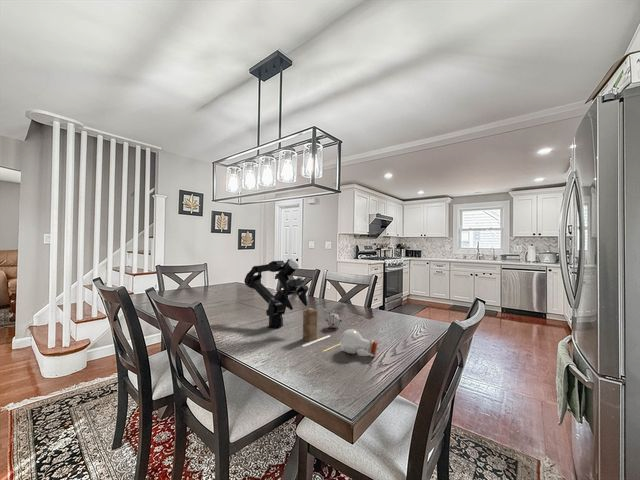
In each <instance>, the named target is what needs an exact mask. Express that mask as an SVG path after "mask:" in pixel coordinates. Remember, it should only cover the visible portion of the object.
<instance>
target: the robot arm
mask: <svg viewBox="0 0 640 480" xmlns="http://www.w3.org/2000/svg"><path fill="white" fill-rule="evenodd" d="M298 269H299V264H298V263H297V262H296V261H294V260H293V259H292V258H288V259H287V260H286V262H284V260H272V261H271V262H269V263H267V264H260V265H253V266H252V267H251V270H250V271H248V273H246V275H245V277H244V285H246V287H248V288H250V289H252V290H254V291H256V293H258V295H259V296H260V297H261V298H262V299H263V300H264V301H265V302H266V303H267V310H266V311H265V313H266V316H268V325H267V328H271V329H280V328H281V327H283V326H284V318H283V315H285V314H286V309H287V308H288V309H289V310H291V311H293V309H294V307H293V305H292V303H291V302H290V299H289V296H293V295H297V296H298V299H299V300H300V301H301V302H302V304H303V305H304V306H305V307H308V301H307V293H308V291H309V290H310V288H309V287H308V285H306V284H305V285H303V283H304V279H303V277H302V276H299V277H296V278H291V276H293V275H294V273H296V271H297V270H298ZM264 272H271V273H276V274H275V276H274V280H278V281H279V283H280V288H281V290H277V292H276V293H275V294H274V295H273V293H271V291H269V290H268V289H267V288H266V287H265V285H264V284H263V283H262V278H263V277H262V276H263V274H262V273H264ZM299 286H300V287H299Z"/></svg>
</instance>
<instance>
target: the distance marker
mask: <svg viewBox="0 0 640 480" xmlns="http://www.w3.org/2000/svg"><path fill="white" fill-rule="evenodd" d="M338 346H340V342H339V343H337V344H335V345H333V346H330V347H329V348H326V349H323V350H322V352H325V353H326V351H329V350H331V349H334V348H337V347H338Z"/></svg>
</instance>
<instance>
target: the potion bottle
mask: <svg viewBox="0 0 640 480" xmlns="http://www.w3.org/2000/svg"><path fill="white" fill-rule="evenodd" d="M378 341H379V340H376V341H375V340H374V338H373V337H371V338H370V339H365V338H363V337H362V334H361V333H360V332H359V331H358V330H356V329H355V328H350V329H346V330H344V331H343V332H342V333H341V335H340V338H339V343H340V345H339V346H340V347H341V349H342V351H343V352H345V353H347V354H349V355H350V354H356V353H358V352H359V351H363V352H366V353H367V354H368V356H371V355H373V357H375V356H376V354H377V350H378Z"/></svg>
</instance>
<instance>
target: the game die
mask: <svg viewBox="0 0 640 480" xmlns="http://www.w3.org/2000/svg"><path fill="white" fill-rule="evenodd" d="M339 314H340V312H337V313H331V312H330V311H329V312H328V316H327V318H326V319H325V321H326V322H327V325H328V330H329V329H330V328H333V329H334V328H335V329H338V330H340V329H339V326H340V324H341V323H342V319H341V318H340V316H339Z"/></svg>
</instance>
